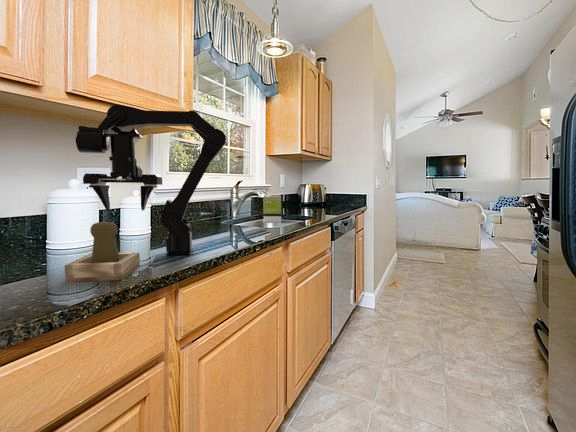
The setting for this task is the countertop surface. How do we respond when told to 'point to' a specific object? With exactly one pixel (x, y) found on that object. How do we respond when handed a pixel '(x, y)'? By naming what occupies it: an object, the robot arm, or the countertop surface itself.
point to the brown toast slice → (104, 242)
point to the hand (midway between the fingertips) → (125, 210)
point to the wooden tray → (101, 268)
